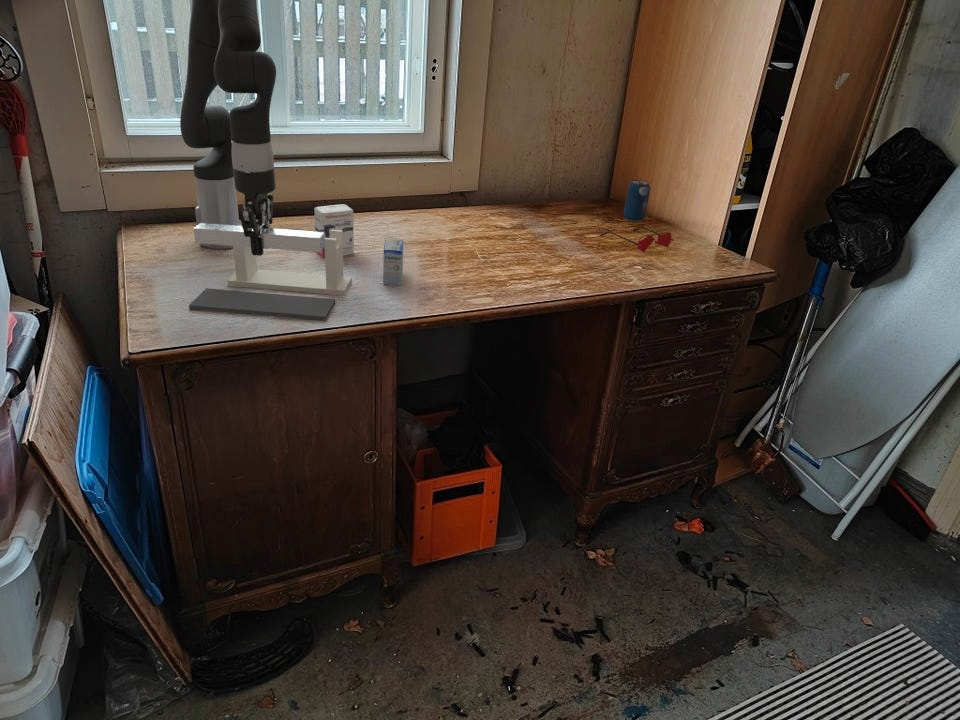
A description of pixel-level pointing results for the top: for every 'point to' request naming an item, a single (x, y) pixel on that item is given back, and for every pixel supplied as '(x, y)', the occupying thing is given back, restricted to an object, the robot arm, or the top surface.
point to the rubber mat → (263, 304)
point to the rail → (269, 237)
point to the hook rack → (290, 280)
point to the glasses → (649, 239)
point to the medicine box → (393, 262)
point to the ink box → (336, 224)
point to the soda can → (636, 200)
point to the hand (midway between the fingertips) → (260, 251)
